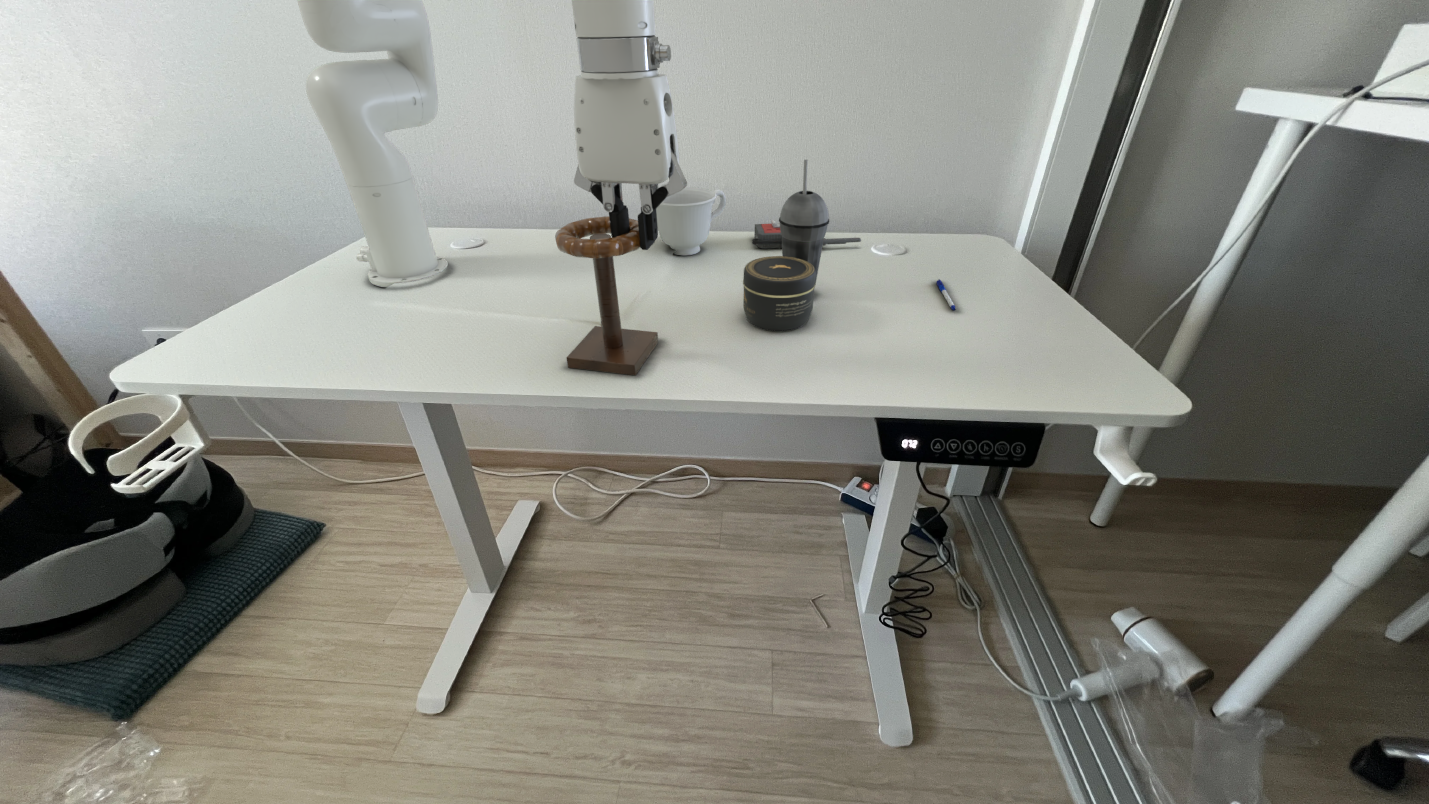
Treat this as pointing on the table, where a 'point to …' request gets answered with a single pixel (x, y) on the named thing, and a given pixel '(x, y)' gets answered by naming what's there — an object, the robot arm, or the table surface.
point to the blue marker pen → (945, 294)
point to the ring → (596, 248)
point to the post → (611, 331)
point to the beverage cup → (804, 225)
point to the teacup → (688, 218)
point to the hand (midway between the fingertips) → (635, 243)
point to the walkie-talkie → (772, 236)
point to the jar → (778, 292)
